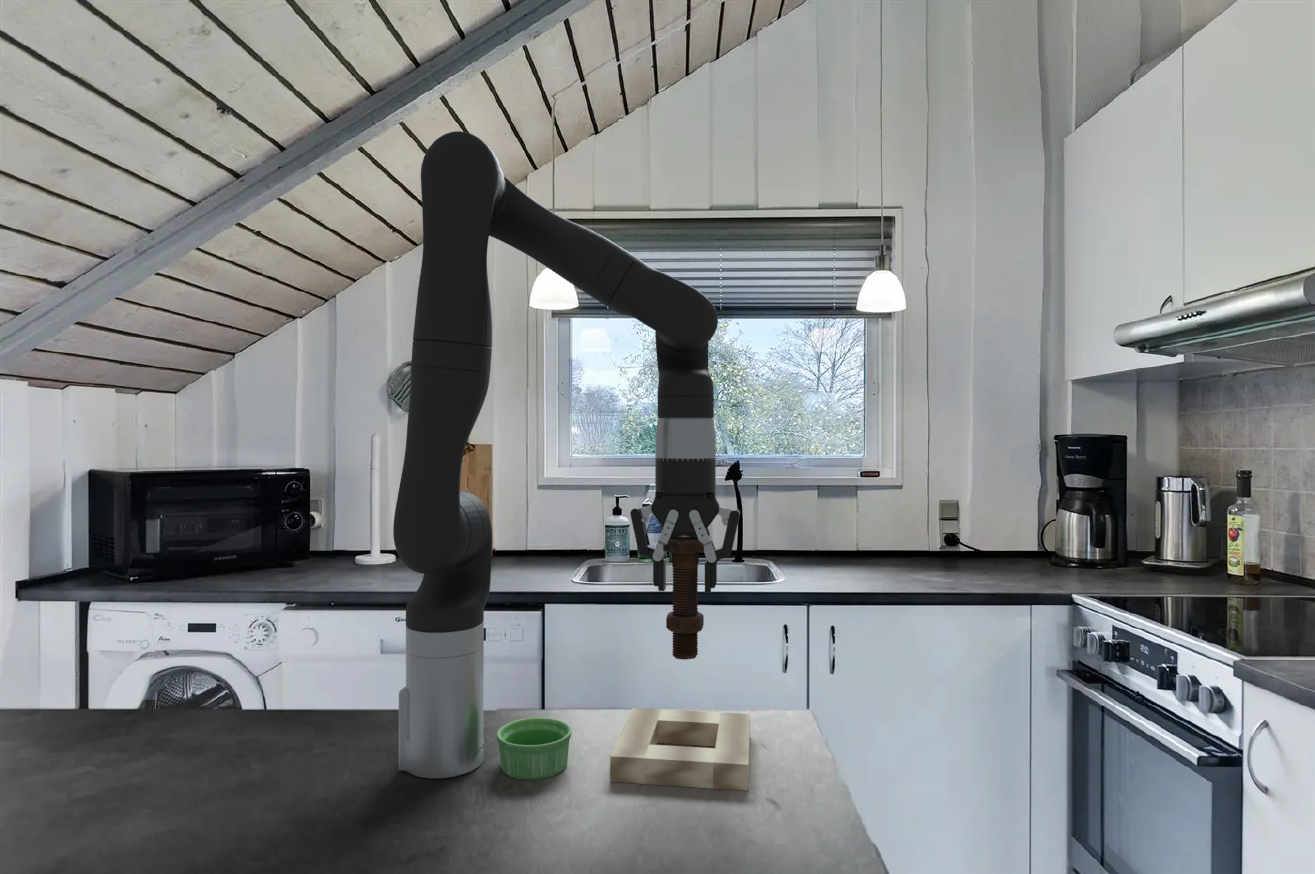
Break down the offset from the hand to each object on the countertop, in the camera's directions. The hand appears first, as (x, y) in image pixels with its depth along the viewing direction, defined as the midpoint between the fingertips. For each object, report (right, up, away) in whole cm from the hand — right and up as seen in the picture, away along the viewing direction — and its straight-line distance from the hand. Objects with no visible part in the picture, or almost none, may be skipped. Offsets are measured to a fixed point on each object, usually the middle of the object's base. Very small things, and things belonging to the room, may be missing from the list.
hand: (685, 590), depth 99 cm
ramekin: (-18, -21, -2) cm, 28 cm away
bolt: (0, -9, 0) cm, 9 cm away
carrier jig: (0, -21, 0) cm, 21 cm away
